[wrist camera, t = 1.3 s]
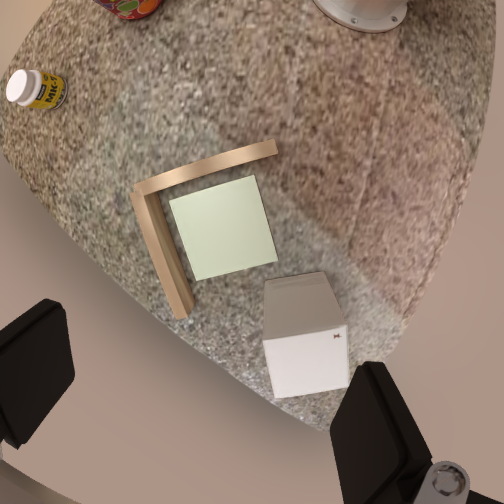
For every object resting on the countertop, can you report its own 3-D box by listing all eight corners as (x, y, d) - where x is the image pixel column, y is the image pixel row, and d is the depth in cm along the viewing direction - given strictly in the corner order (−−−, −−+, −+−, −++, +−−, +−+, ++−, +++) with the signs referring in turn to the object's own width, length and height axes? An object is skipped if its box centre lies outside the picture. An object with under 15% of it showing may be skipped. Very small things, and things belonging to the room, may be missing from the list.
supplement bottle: (65, 108, 30) (24, 102, 22) (42, 111, 30) (1, 108, 22) (71, 74, 29) (32, 62, 21) (46, 79, 29) (7, 71, 21)
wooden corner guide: (273, 141, 31) (274, 138, 27) (308, 274, 35) (313, 288, 32) (141, 183, 33) (127, 186, 29) (184, 304, 37) (176, 319, 34)
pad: (254, 174, 32) (254, 174, 32) (278, 259, 35) (278, 260, 35) (170, 200, 34) (168, 200, 33) (197, 279, 36) (196, 280, 36)
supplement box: (263, 279, 36) (260, 338, 24) (325, 269, 35) (350, 323, 23) (272, 331, 38) (273, 400, 26) (329, 322, 37) (351, 388, 25)
